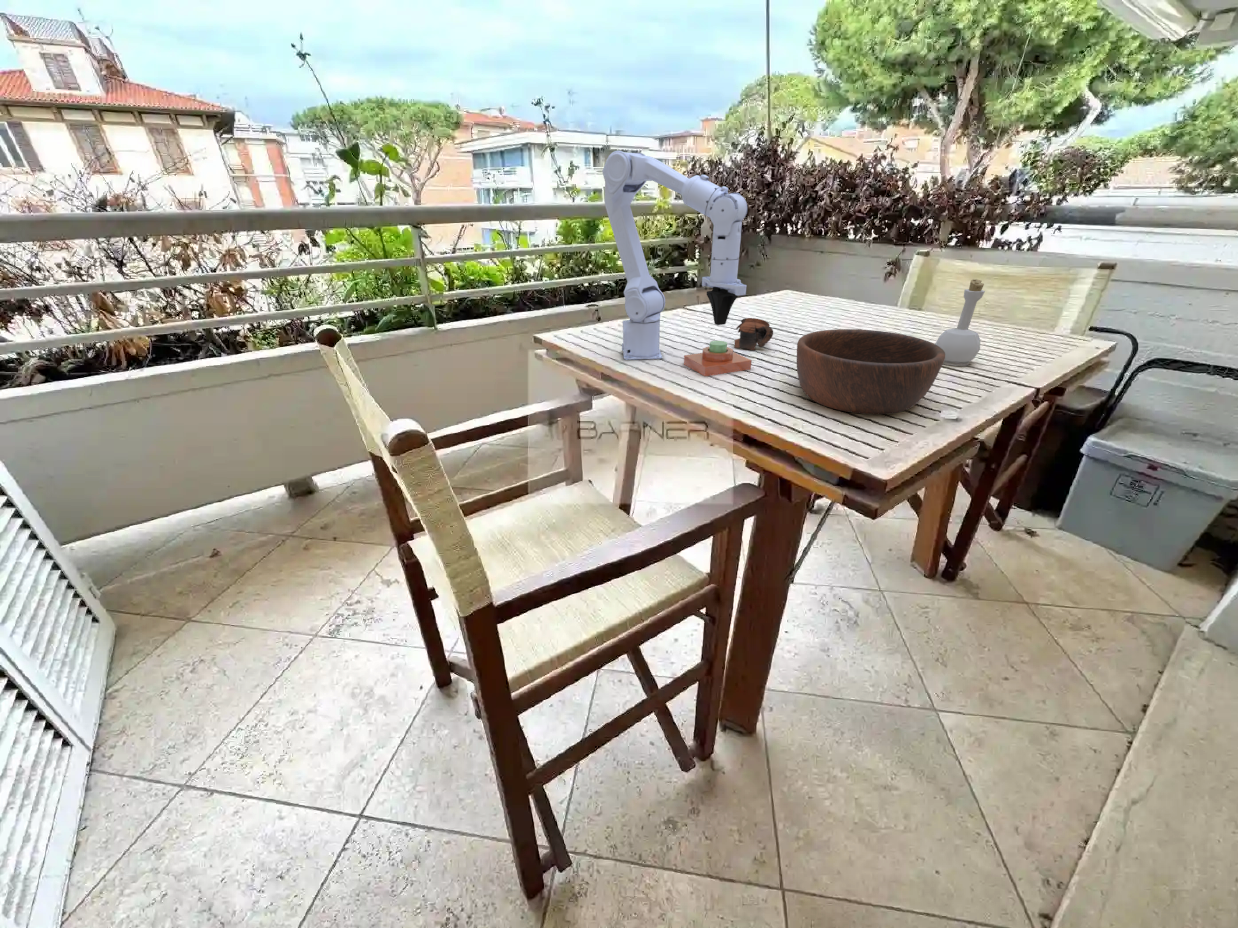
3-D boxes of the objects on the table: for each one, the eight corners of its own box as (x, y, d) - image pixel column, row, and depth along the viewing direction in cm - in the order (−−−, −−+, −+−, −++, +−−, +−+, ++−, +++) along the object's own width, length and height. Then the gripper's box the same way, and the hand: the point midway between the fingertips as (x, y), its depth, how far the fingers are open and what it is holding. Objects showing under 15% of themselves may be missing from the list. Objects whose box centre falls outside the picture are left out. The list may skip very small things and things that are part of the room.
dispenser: (704, 376, 107) (706, 359, 105) (683, 364, 115) (684, 347, 113) (750, 369, 111) (752, 352, 109) (726, 358, 119) (728, 341, 117)
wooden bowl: (951, 398, 93) (969, 345, 88) (891, 435, 80) (907, 375, 75) (831, 368, 110) (840, 322, 105) (764, 394, 97) (771, 343, 92)
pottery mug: (723, 347, 129) (731, 317, 128) (747, 358, 134) (755, 329, 133) (757, 345, 118) (766, 312, 118) (782, 357, 124) (790, 326, 123)
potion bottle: (961, 356, 116) (987, 277, 107) (982, 367, 108) (1012, 283, 100) (923, 356, 117) (946, 277, 108) (940, 367, 109) (967, 283, 101)
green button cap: (714, 355, 109) (715, 346, 108) (705, 350, 112) (706, 341, 111) (729, 352, 110) (730, 344, 109) (720, 348, 114) (721, 339, 113)
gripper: (761, 261, 97) (754, 329, 104) (722, 254, 109) (718, 316, 115) (731, 263, 95) (725, 332, 101) (695, 256, 107) (692, 319, 113)
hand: (720, 324), depth 108 cm, fingers closed
